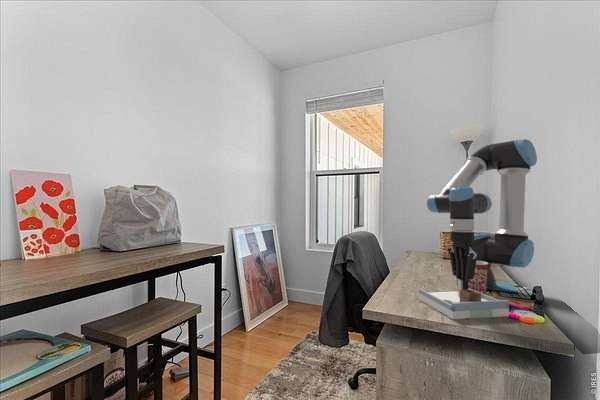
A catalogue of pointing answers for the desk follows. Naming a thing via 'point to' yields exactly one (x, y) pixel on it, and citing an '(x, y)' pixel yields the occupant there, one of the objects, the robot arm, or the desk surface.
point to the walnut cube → (469, 296)
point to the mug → (479, 277)
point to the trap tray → (465, 305)
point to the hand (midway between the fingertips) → (463, 297)
